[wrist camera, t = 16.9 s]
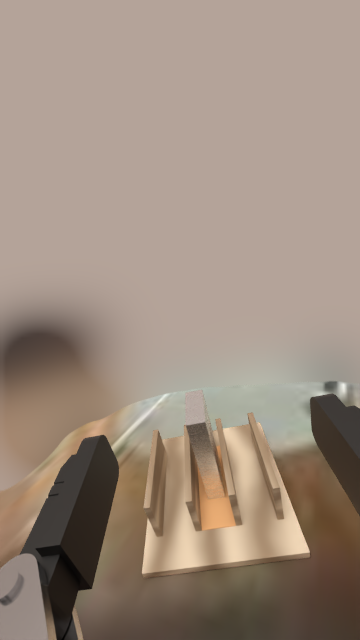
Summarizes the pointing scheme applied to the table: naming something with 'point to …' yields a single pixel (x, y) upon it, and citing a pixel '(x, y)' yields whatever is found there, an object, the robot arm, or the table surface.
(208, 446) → the panel
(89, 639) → the table surface
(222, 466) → the media rack
